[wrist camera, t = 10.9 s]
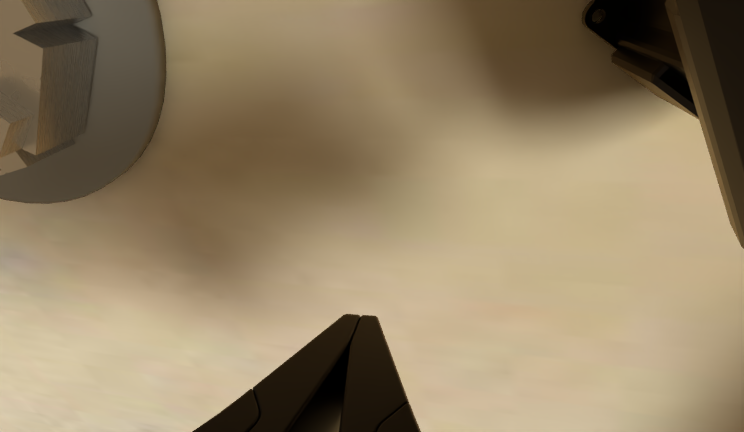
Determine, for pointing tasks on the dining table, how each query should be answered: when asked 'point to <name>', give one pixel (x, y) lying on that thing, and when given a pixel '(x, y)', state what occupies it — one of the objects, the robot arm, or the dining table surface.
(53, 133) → the grey stone ring wall
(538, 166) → the dining table surface
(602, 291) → the dining table surface
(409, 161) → the dining table surface
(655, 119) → the dining table surface
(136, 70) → the grey stone circle model
